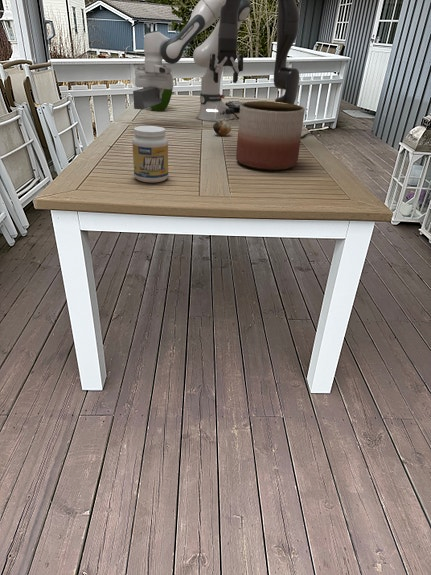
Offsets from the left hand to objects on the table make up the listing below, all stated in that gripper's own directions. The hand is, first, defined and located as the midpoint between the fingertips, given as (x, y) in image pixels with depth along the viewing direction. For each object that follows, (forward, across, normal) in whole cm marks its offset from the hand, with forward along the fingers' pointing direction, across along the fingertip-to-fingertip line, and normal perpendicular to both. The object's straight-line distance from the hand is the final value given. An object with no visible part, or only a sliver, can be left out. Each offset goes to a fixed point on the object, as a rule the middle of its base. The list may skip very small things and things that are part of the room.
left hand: (154, 97), depth 216 cm
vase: (+15, -17, +50) cm, 55 cm away
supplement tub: (+14, +32, -87) cm, 93 cm away
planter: (+15, +68, -50) cm, 86 cm away
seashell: (+15, +39, -6) cm, 42 cm away
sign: (+15, +30, +82) cm, 89 cm away
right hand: (-13, +46, -37) cm, 60 cm away
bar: (+3, 0, -9) cm, 9 cm away
